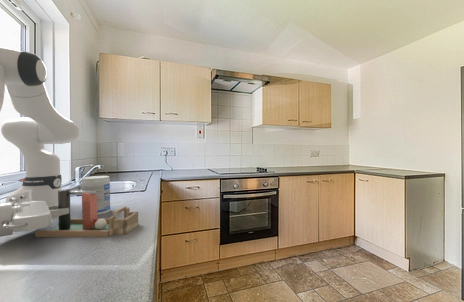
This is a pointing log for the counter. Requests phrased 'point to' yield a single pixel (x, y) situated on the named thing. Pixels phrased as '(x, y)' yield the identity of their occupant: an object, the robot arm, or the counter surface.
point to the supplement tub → (99, 191)
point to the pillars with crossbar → (87, 208)
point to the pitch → (75, 230)
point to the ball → (100, 223)
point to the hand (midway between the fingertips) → (67, 208)
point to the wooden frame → (122, 222)
